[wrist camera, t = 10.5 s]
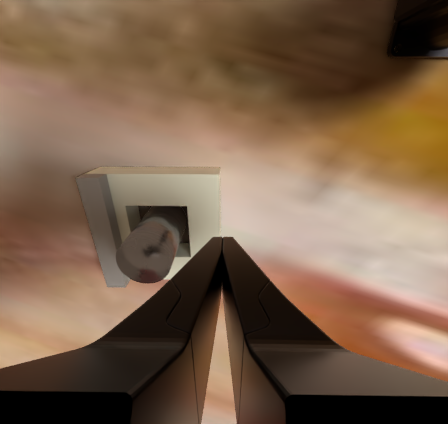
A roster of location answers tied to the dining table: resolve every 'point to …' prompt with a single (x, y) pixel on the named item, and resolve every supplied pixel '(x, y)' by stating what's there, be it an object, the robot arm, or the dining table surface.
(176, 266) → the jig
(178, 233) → the metal cylinder rod
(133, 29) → the dining table surface
